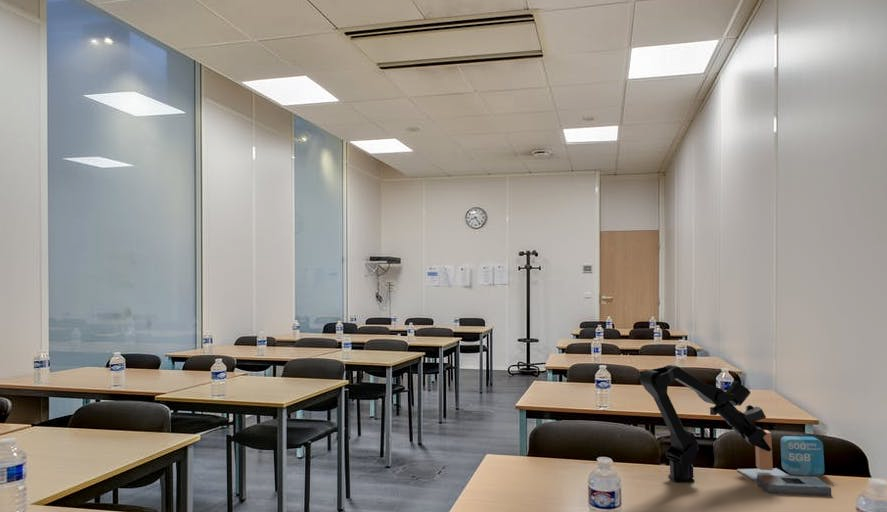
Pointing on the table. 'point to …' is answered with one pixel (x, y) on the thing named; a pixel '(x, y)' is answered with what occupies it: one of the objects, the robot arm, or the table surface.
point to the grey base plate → (793, 485)
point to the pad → (761, 472)
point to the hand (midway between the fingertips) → (767, 448)
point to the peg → (764, 454)
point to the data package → (802, 455)
